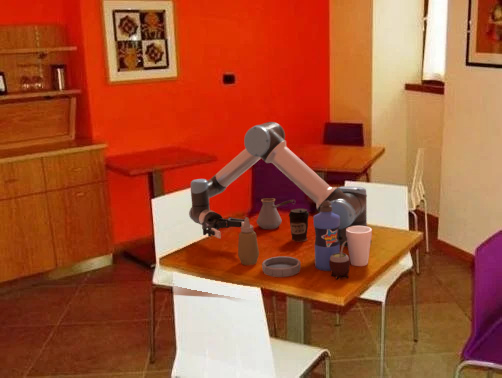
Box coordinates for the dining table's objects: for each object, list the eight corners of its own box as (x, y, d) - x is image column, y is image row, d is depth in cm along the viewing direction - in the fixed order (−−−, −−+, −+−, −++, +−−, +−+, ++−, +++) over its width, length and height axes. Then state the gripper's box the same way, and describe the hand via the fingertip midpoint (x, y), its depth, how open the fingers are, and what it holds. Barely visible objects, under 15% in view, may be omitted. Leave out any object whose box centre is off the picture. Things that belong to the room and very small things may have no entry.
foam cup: (343, 266, 221) (342, 232, 218) (349, 257, 230) (348, 225, 227) (369, 268, 218) (369, 233, 215) (374, 259, 226) (374, 226, 223)
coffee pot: (251, 228, 275) (249, 196, 272) (268, 222, 283) (267, 191, 280) (286, 236, 260) (285, 202, 257) (303, 229, 268) (302, 197, 265)
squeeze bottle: (252, 268, 224) (249, 221, 220) (234, 264, 229) (231, 219, 225) (263, 261, 231) (261, 215, 227) (245, 258, 235) (243, 213, 231)
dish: (303, 264, 225) (303, 257, 224) (296, 277, 212) (296, 270, 212) (267, 263, 229) (267, 255, 228) (258, 276, 216) (258, 268, 215)
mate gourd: (333, 272, 216) (332, 232, 213) (354, 275, 212) (354, 234, 209) (326, 279, 210) (325, 238, 206) (348, 282, 206) (347, 240, 203)
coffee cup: (308, 243, 249) (307, 213, 246) (288, 243, 251) (287, 212, 248) (310, 236, 258) (309, 207, 255) (291, 236, 259) (290, 207, 256)
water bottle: (344, 268, 219) (343, 201, 213) (320, 272, 216) (319, 204, 211) (334, 260, 227) (332, 196, 222) (311, 264, 225) (308, 199, 219)
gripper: (237, 223, 261) (263, 234, 243) (184, 234, 249) (207, 247, 231) (236, 206, 259) (262, 216, 241) (183, 216, 247) (205, 228, 229)
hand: (235, 231), depth 236 cm, fingers open, 13 cm apart
